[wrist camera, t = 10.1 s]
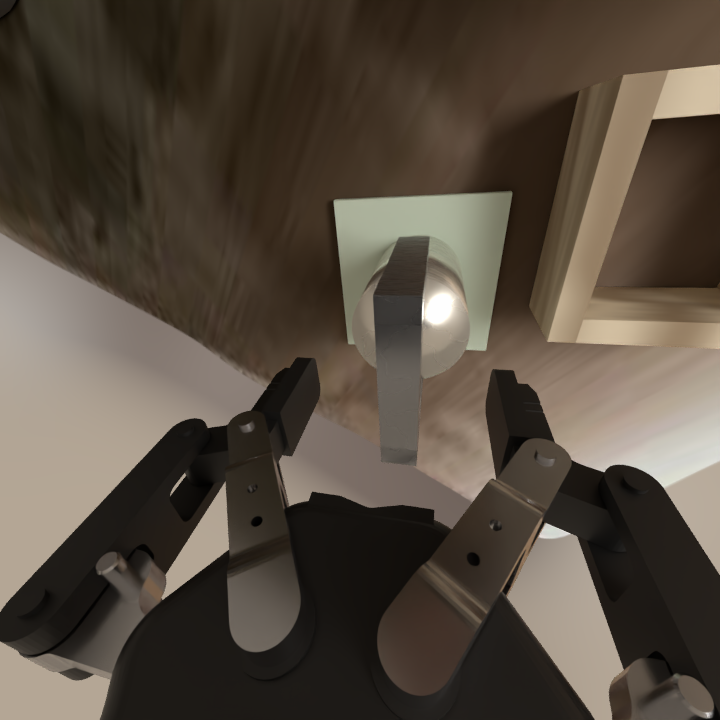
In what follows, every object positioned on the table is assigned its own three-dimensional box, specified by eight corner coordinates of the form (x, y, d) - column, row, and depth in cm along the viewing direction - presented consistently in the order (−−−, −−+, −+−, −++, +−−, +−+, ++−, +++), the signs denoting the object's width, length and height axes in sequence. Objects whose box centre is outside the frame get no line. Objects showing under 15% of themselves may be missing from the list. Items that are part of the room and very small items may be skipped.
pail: (378, 328, 26) (335, 456, 16) (373, 218, 22) (309, 294, 11) (456, 331, 25) (467, 472, 14) (468, 214, 20) (496, 296, 10)
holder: (528, 306, 23) (547, 341, 19) (579, 90, 17) (623, 75, 13) (732, 310, 21) (802, 352, 17) (885, 59, 14) (1062, 27, 10)
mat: (349, 340, 28) (348, 344, 28) (335, 199, 22) (333, 200, 21) (484, 346, 26) (485, 350, 25) (510, 190, 20) (512, 192, 19)
